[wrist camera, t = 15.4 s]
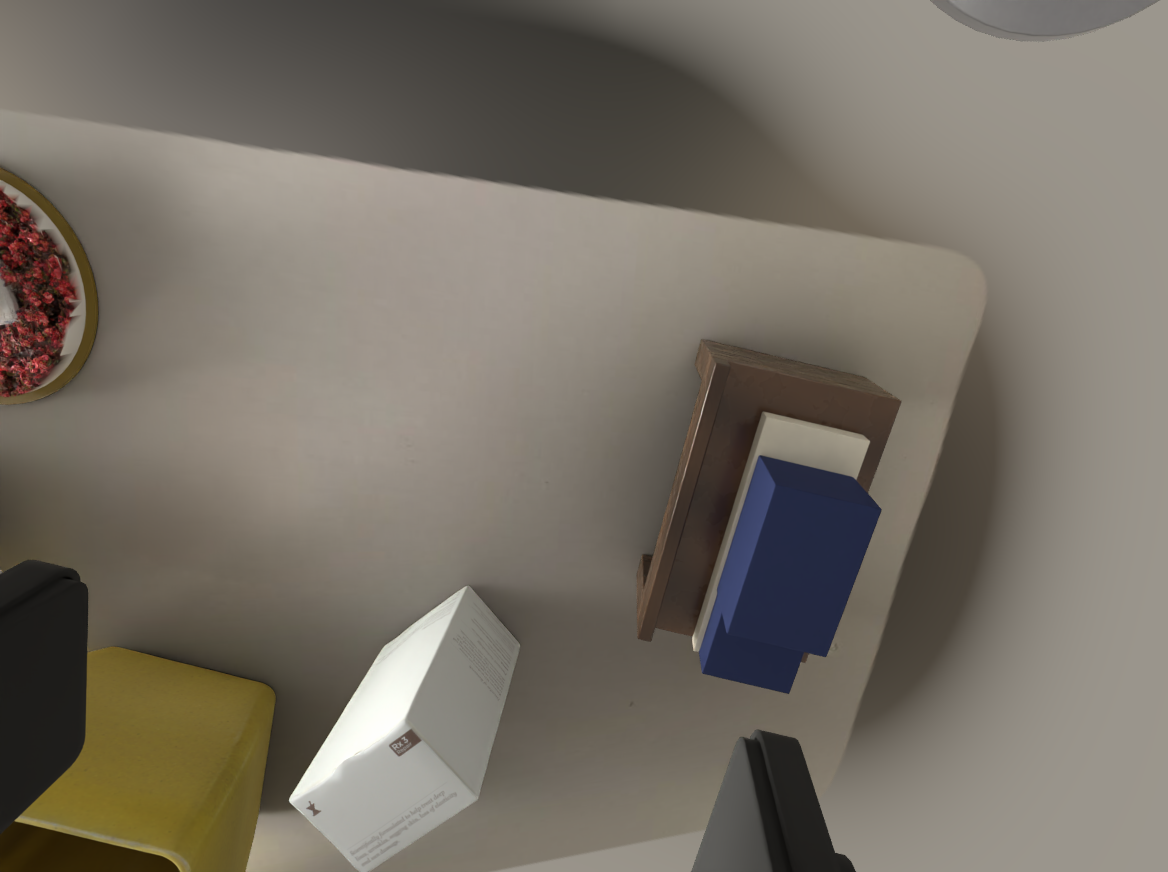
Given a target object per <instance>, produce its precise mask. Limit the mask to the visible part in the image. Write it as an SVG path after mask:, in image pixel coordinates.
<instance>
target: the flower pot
mask: <svg viewBox="0 0 1168 872" xmlns="http://www.w3.org/2000/svg"><path fill="white" fill-rule="evenodd" d="M275 701H276V697H275V693H274V691H273V690H272V689H271V688H270V687H269V686H268V685H266V684H264V683H261V682H257V681H252V680H248V679H244V678H240V677H236V676H232V675H228V674H224V673H220V672H217V671H213V670H208V669H204V668H200V667H196V666H192V665H188V664H184V663H180V662H176V661H172V660H168V659H164V658H160V657H156V656H152V655H148V654H144V653H140V652H136V651H132V650H128V649H124V648H120V647H107V648H103V649H99V650H96V651H92V652H88V653H87V689H86V736H85V742H84V745H83V748H82V750H81V752H80V754H79V756H78V758H77V759H76V761H75V762H74V763H73V764H72V766H71V767H70V768H69V769H68V770H67V771H66V772H65V773H64V774H63V775H62V776H61V777H59V778H58V779H57V780H56V781H55V782H54V783H53V784H52V785H51V786H50V787H49V788H48V789H47V790H46V791H45V792H44V793H43V794H42V795H41V796H40V797H39V798H38V799H37V800H36V801H35V802H33V803H32V804H31V805H30V806H29V807H28V808H27V809H26V810H25V811H24V812H23V813H22V814H21V815H20V816H19V817H18V818H17V819H16V820H15V821H14V822H13V823H12V824H11V825H10V826H9V827H8V828H6V829H5V830H4V831H3V832H2V833H1V834H0V872H245V870H246V866H247V862H248V858H249V854H250V850H251V846H252V842H253V838H254V833H255V829H256V824H257V820H258V814H259V808H260V801H261V795H262V788H263V781H264V774H265V767H266V761H267V754H268V747H269V741H270V734H271V727H272V721H273V714H274V708H275Z"/></svg>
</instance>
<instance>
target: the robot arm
mask: <svg viewBox="0 0 1168 872" xmlns="http://www.w3.org/2000/svg"><path fill="white" fill-rule="evenodd" d="M87 640H88V588H87V586H86V584H84V583H82V582H80V576H79V574H78V573H77V571H75V570H73V569H71V568H67V567H62V566H58V565H54V564H49V563H45V562H41V561H37V560H27V561H24V562H22V563H19V564H18V565H16V566H14V567H12V568H10V569H9V570H7V571H5V572H3V573H1V574H0V834H1V833H2V832H3V831H4V830H5V829H6V828H8V827H9V826H10V825H11V824H12V823H13V822H14V821H15V820H16V819H17V818H18V817H19V816H20V815H21V814H22V813H23V812H24V811H25V810H26V809H27V808H28V807H29V806H30V805H31V804H32V803H33V802H35V801H36V800H37V799H38V798H39V797H40V796H41V795H42V794H43V793H44V792H45V791H46V790H47V789H48V788H49V787H50V786H51V785H52V784H53V783H54V782H55V781H56V780H57V779H58V778H59V777H61V776H62V775H63V774H64V773H65V772H66V771H67V770H68V769H69V768H70V767H71V766H72V764H73V763H74V762H75V761H76V759H77V758H78V756H79V754H80V752H81V750H82V748H83V745H84V742H85V736H86V689H87ZM691 872H856V871H855V869H854V867H853V865H852V863H851V861H850V860H849V859H848V858H847V857H846V856H845V855H842V854H838V853H835V851H834V848H833V845H832V842H831V839H830V836H829V833H828V830H827V827H826V823H825V820H824V817H823V814H822V811H821V808H820V805H819V802H818V799H817V795H816V792H815V789H814V786H813V783H812V780H811V777H810V774H809V771H808V768H807V764H806V761H805V758H804V755H803V752H802V749H801V746H800V744H799V742H798V740H797V739H795V738H792V737H788V736H783V735H779V734H775V733H771V732H766V731H762V730H755V731H754V732H753V733H752V735H751V737H750V739H748V738H744V737H740V738H739V739H738V740H737V743H736V745H735V748H734V750H733V753H732V756H731V759H730V762H729V765H728V768H727V771H726V773H725V776H724V779H723V782H722V785H721V788H720V791H719V794H718V796H717V799H716V802H715V805H714V808H713V811H712V814H711V817H710V819H709V822H708V825H707V828H706V831H705V834H704V837H703V840H702V843H701V845H700V848H699V851H698V854H697V857H696V860H695V863H694V866H693V868H692V871H691Z"/></svg>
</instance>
